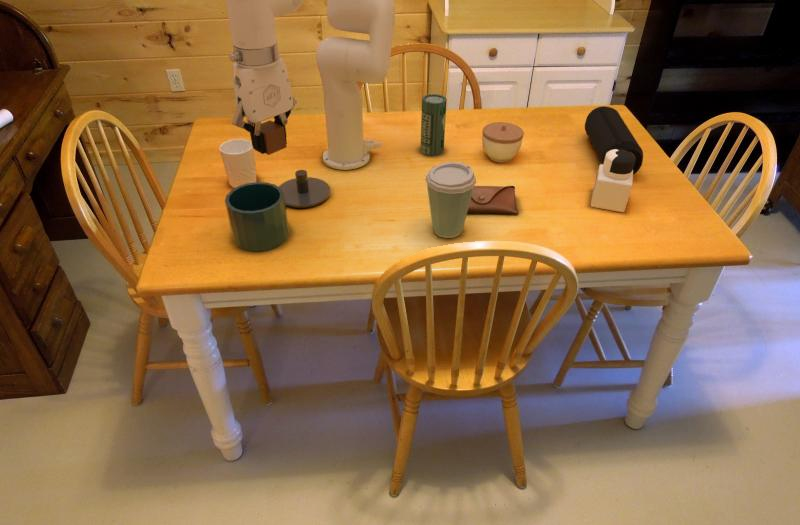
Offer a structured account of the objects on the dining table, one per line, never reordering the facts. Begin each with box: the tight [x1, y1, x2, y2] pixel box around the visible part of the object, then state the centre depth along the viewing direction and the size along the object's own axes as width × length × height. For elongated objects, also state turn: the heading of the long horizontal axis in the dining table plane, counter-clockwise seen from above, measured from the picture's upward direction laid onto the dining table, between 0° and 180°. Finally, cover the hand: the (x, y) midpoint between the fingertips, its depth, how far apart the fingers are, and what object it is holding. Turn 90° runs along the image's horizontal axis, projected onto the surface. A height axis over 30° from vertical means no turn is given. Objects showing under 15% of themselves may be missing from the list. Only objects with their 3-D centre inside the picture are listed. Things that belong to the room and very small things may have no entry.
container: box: [590, 149, 636, 213], centre depth 132 cm, size 8×8×13 cm
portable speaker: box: [584, 105, 644, 176], centre depth 150 cm, size 26×10×10 cm, turn 178°
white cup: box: [218, 138, 258, 189], centre depth 138 cm, size 8×8×10 cm
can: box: [419, 93, 448, 157], centre depth 150 cm, size 6×6×15 cm
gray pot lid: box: [278, 169, 331, 208], centre depth 135 cm, size 13×13×6 cm
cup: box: [224, 181, 290, 253], centre depth 121 cm, size 12×12×10 cm
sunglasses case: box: [467, 185, 519, 215], centre depth 133 cm, size 18×7×7 cm
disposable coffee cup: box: [425, 161, 477, 239], centre depth 121 cm, size 11×11×15 cm
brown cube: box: [260, 120, 287, 156], centre depth 110 cm, size 4×4×4 cm
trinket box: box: [481, 121, 525, 163], centre depth 150 cm, size 11×11×9 cm
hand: (270, 145), depth 111 cm, fingers closed on brown cube, 4 cm apart
